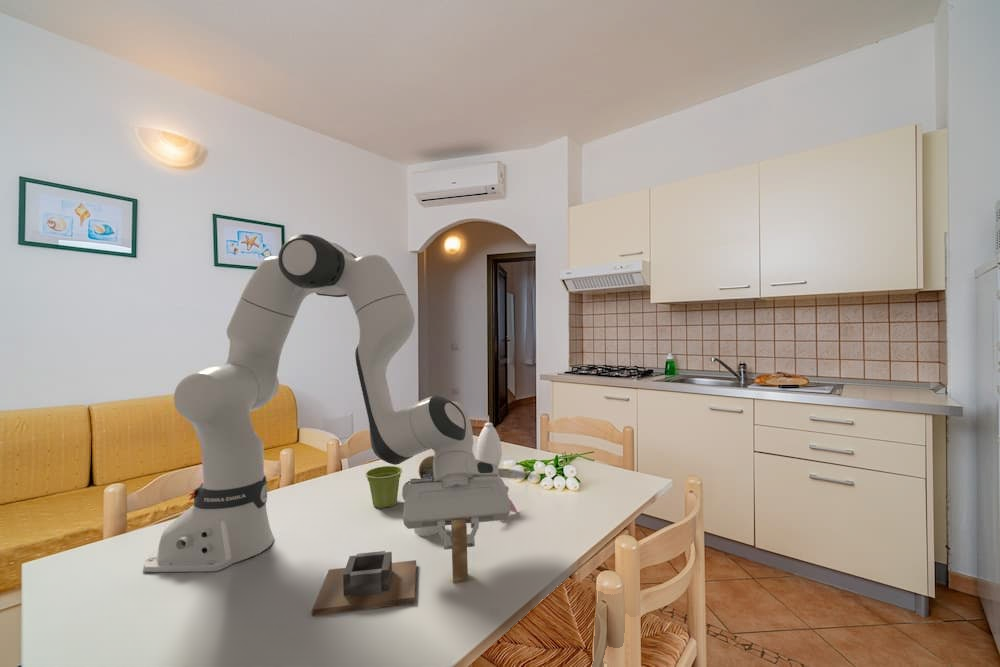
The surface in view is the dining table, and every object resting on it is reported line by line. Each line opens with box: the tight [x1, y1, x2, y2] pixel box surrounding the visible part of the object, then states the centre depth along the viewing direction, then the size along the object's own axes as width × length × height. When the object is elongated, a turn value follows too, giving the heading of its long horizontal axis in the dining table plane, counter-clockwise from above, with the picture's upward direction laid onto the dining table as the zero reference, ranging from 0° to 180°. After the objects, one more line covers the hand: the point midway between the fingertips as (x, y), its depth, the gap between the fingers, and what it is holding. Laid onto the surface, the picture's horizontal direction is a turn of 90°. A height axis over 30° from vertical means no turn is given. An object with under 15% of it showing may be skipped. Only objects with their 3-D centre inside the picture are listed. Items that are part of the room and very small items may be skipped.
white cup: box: [413, 526, 438, 537], centre depth 99 cm, size 7×7×7 cm
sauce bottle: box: [476, 415, 503, 467], centre depth 140 cm, size 8×8×18 cm
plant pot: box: [365, 465, 403, 509], centre depth 114 cm, size 9×9×9 cm
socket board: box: [311, 550, 417, 617], centre depth 76 cm, size 16×12×4 cm
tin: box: [418, 455, 434, 479], centre depth 131 cm, size 15×3×8 cm, turn 114°
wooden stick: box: [450, 519, 469, 584], centre depth 79 cm, size 3×3×10 cm
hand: (459, 547), depth 78 cm, fingers closed on wooden stick, 3 cm apart
